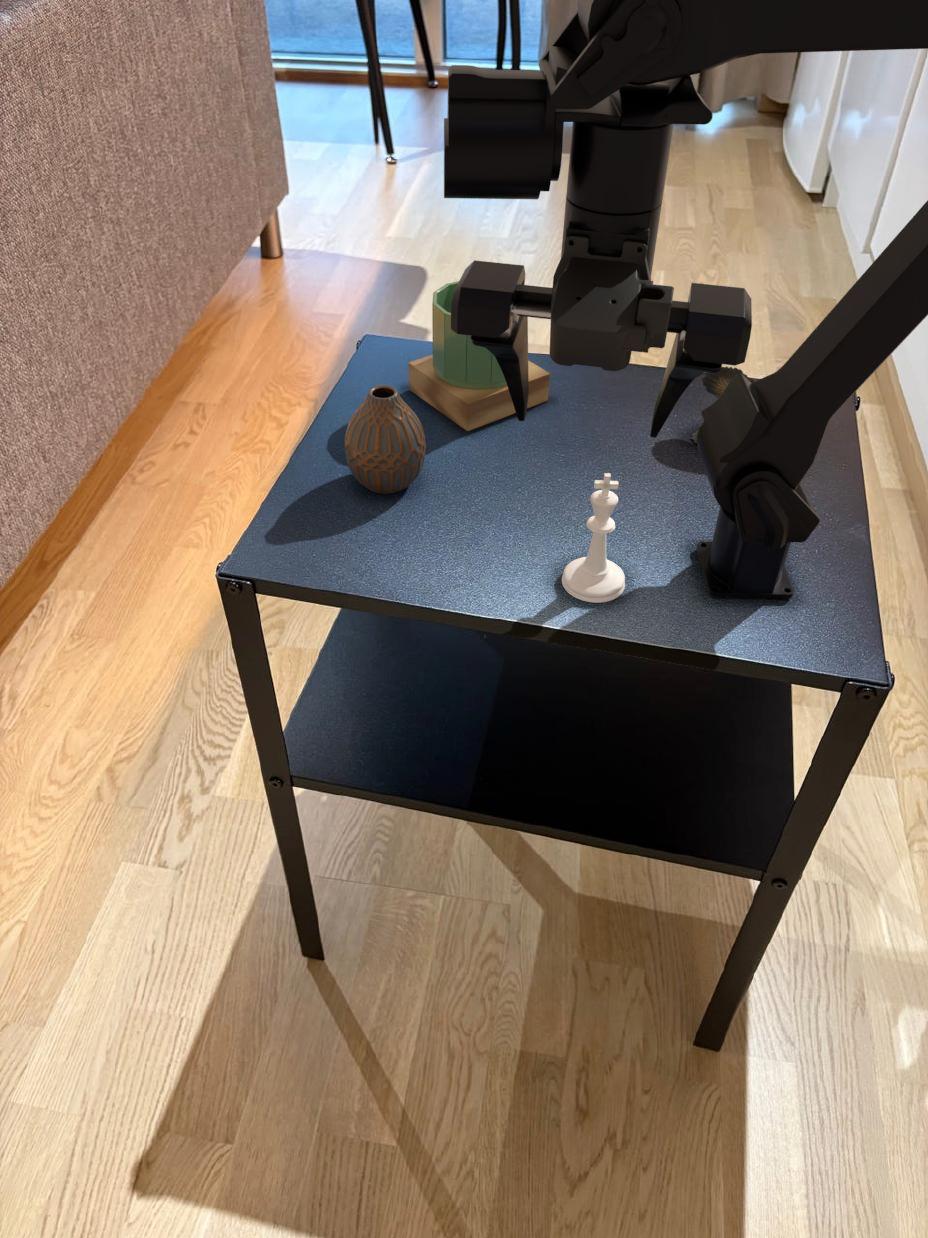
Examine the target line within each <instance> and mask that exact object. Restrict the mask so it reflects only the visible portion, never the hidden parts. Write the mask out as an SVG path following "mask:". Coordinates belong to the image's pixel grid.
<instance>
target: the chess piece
mask: <svg viewBox="0 0 928 1238" xmlns="http://www.w3.org/2000/svg"><path fill="white" fill-rule="evenodd" d="M619 486H620V485H619V480H612V474H611V473H610V472H604V473H603V480H602V479H601V480H600V479H599V480H598V479H594V483H593V488H594V490H596V491H594V492H592V493H591V495H590V503H591V506H592V510H593V515H592V516H590V517H589V518H587V521H586V528H587V529H588V530H589V531H590V532H592V535H591V540H590V544H589V547H588V550H587V553H586V556H582V557H578V558H575V559H573V560H572V561H570V562H569V563H568V564H567V565H566V566H565V567H564V569H563V573H562V576H561V584H562V587H563V588H564V590H565V591H566V592H567V593H568V594H569V595H570V596H572V597H573V598H575V599H577V600H580V601H583V602H586V603H594V604H595V603H596V604H598V603H599V604H601V603H606V602H607V603H608V602H611V601H614V600H615V599H617V598H618V597H621V595H622V594H623V593H624V591H625V589H626V576H625V573H624V571H623V570H622V568H621V567H620V566H619V565H618V564H616V563H615V562H614V561H612V560H610V559H607V556H608V555H607V536H608V535H607V534H610V533H612V532H614V531H615V529H616V523H615V520H614V519H613V518H612V517H611V516H612V514H613V512H614V510H615V508H616V507H617V505H618V503H619V497H618V495H617V494H616V493H615V492H614V491H611V490H619Z"/></svg>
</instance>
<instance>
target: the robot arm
mask: <svg viewBox="0 0 928 1238" xmlns="http://www.w3.org/2000/svg"><path fill="white" fill-rule="evenodd" d="M576 6H577V9H576V11H575V12H574V13H573V15H572V16H571V17H570V19H569V20H568V21H567V23H566V24H565V26H564V27H563V29H562V30H561V31H560V32H559V33H558V35H557V37H556V38H555V39H554V40H553V42H552V43H551V45H550V46H548V48H547V49H546V51H545V52H544V54H543V55H542V56H541V57H540V59H539V60H538V61H539V62H538V67H539V70H528V69H527V70H526V69H525V70H523V69H486V68H481V67H478V66H475V65H469V64H467V65H466V64H465V65H464V64H463V65H462V64H452V65H450V66H449V67H448V69H447V113H446V114H447V116H446V117H444V118H443V199H468V200H469V199H474V200H476V199H479V200H480V199H481V200H485V199H486V200H539V199H540V195H541V192H550V191H551V185H552V184H551V182H557V181H559V179H560V174H561V168H562V159H563V144H564V143H563V142H564V124H565V123H572V124H571V137H570V149H569V161H568V171H567V172H568V173H567V183H566V195H565V205H564V216H563V226H562V227H563V228H562V229H563V230H562V240H561V250H560V251H561V252H560V258H559V262H558V264H557V266H556V268H555V270H554V274H553V276H552V277H553V278H552V287H548V286H540V285H538V286H537V285H529V284H526V267H525V265H524V264H513V263H504V262H494V261H485V260H484V261H483V260H475V259H474V260H473V261H472V262H471V263H470V264H469V265H468V266H466V268H465V269H464V271H463V273H462V275H461V277H460V279H459V280H458V281H459V282H458V284H457V286H456V288H455V290H454V292H453V296H452V302H451V330H452V331H454V332H455V333H457V334H462V335H471V341H472V343H473V344H474V345H476V346H481V347H485V348H486V349H487V350H489V351H490V352H491V353H492V354H493V355H494V356H495V358H496V360H497V362H498V364H499V366H500V368H501V370H502V372H503V375H504V378H505V380H506V383H507V387H508V390H509V393H510V396H511V399H512V402H513V405H514V408H515V411H516V413H515V414H516V417H517V420H518V421H519V422H525V420H526V417H527V411H528V409H527V404H528V394H529V379H528V360H529V325H528V324H529V319H528V318H534V319H542V320H543V319H544V320H550V329H549V357H550V359H551V361H552V362H553V363H555V364H557V365H560V366H564V367H571V366H574V365H579V366H584V367H585V366H586V367H594V368H601V369H602V370H603V371H610V372H619V371H622V370H624V369H625V368H627V366H629V364H630V361H631V358H632V352H636V353H645V354H648V353H649V349H651V348H653V349H654V348H656V349H663V348H665V347H666V341H667V335H668V333H670V334H671V333H672V334H675V337H674V340H673V343H672V347H671V351H670V354H669V357H668V361H667V364H666V367H665V371H664V375H663V378H662V382H661V385H660V389H659V391H658V394H657V398H656V402H655V405H654V409H653V413H652V414H653V415H652V421H651V427H650V432H649V433H650V434H649V437H650V438H653V439H655V438H657V437H658V435H659V433H660V432H661V430H662V428H663V426H664V425H665V423H666V422H667V420H668V418H669V417H670V415H671V413H672V411H673V410H674V408H675V406H676V405H677V403H678V401H679V400H680V398H681V396H682V395H683V394H684V392H685V391H686V390H687V389H688V387H689V386H690V385H691V384H692V382H693V381H694V380H695V379H696V378H698V377H700V376H702V374H705V373H716V372H718V371H720V369H721V367H723V365H725V366H738V365H741V364H744V363H745V362H746V357H747V353H748V349H749V344H750V340H751V333H752V327H753V315H752V314H753V313H752V312H753V309H752V307H753V306H752V303H753V302H752V297H751V296H750V294H749V293H748V292H747V290H746V289H745V287H739V286H738V287H736V286H728V285H719V284H718V285H717V284H709V283H698V282H691V283H690V288H689V293H688V299H687V301H681V300H673V298H674V292H675V291H674V290H675V287H674V286H672V285H663V284H654V280H652V273H653V267H654V260H655V253H656V246H657V241H658V240H657V239H658V233H659V228H660V227H659V225H660V219H661V213H662V206H663V200H664V192H665V186H666V179H667V172H668V165H669V159H670V152H671V146H672V139H673V131H674V126H675V125H702V126H703V125H704V126H705V125H708V124H710V123H711V122H712V120H713V111H712V110H711V109H710V107H709V106H708V104H707V103H706V102H705V100H704V99H703V98H702V96H701V95H700V94H699V93H698V92H697V90H696V88H695V85H694V82H693V77H692V76H695V75H697V74H703V73H705V72H707V71H710V70H712V69H714V68H717V67H719V66H722V65H724V64H727V63H729V62H732V61H734V60H737V59H742V58H745V57H746V58H747V57H751V56H754V55H761V54H789V53H792V54H793V53H822V52H823V53H824V52H827V53H829V52H830V53H831V52H858V51H859V52H861V51H862V52H863V51H890V50H891V51H894V50H895V51H896V50H897V51H899V50H926V49H927V50H928V0H577V4H576ZM927 317H928V199H927V200H926V201H925V202H924V204H922V206H921V207H920V208H919V210H917V212H916V213H915V214H914V215H913V216H912V218H911V219H910V220H909V221H908V222H907V223H906V224H905V225H904V227H902V229H901V230H900V232H898V233H897V234H896V235H895V237H894V238H893V239H892V240H891V242H890V243H889V244H888V245H887V246H886V247H885V248H884V249H883V251H882V252H881V253H880V254H879V255H878V256H877V258H876V259H875V260H874V261H873V262H872V263H871V264H870V265H869V267H868V268H867V269H866V270H865V271H864V272H863V274H862V275H861V276H860V277H859V278H858V279H857V280H856V282H854V284H853V285H852V286H851V287H850V288H849V289H848V290H847V292H846V293H845V294H844V295H843V297H842V298H841V299H840V300H839V301H838V302H837V303H836V304H835V306H833V308H832V309H831V310H830V311H829V312H828V313H827V315H826V316H825V317H824V318H823V319H822V320H821V321H820V322H819V324H818V325H817V326H815V328H814V330H813V331H812V332H811V333H810V334H809V335H808V337H806V338H805V340H803V342H802V343H801V344H800V346H798V348H797V349H795V351H794V352H793V353H792V355H791V356H790V357H789V358H788V360H787V361H786V362H785V363H784V364H783V365H782V366H781V367H779V369H777V370H776V371H775V372H773V373H771V374H769V375H766V376H764V377H762V378H760V379H757V380H754V381H755V382H753V383H751V382H750V381H749V380H748V379H747V378H746V377H745V376H744V375H742V374H741V373H738V374H736V375H735V376H734V377H733V378H732V379H731V380H730V382H729V384H728V385H727V387H726V389H725V390H724V392H723V393H722V395H721V396H720V397H719V398H718V397H717V399H716V400H715V401H714V402H713V403H712V404H710V405H708V406H707V407H706V408H704V409H702V410H701V411H700V413H701V416H702V418H703V422H702V423H701V425H700V427H699V428H698V430H699V431H698V434H697V443H696V444H697V452H698V455H699V458H700V461H701V464H702V466H703V469H704V471H705V474H706V477H707V480H708V482H709V485H710V488H711V491H712V494H713V496H714V498H715V501H716V502H717V504H718V505H719V510H718V515H717V519H716V524H715V528H714V532H713V537H712V541H699V542H697V544H696V553H697V555H698V560H699V563H700V567H701V570H702V575H703V578H704V583H705V586H706V589H707V592H708V595H709V596H710V597H712V598H731V599H732V598H733V599H735V598H736V599H742V598H743V599H787V600H788V599H792V598H793V597H794V593H795V590H794V587H793V584H792V581H791V579H790V577H789V574H788V571H787V568H786V566H785V564H786V560H787V557H788V553H789V550H790V547H791V543H805V542H806V541H807V540H808V538H809V537H810V536H811V535H812V533H813V532H814V531H815V530H816V528H817V527H818V525H819V524H820V523H821V522H820V518H819V515H818V514H817V511H816V509H815V507H814V505H813V503H812V501H811V499H810V497H809V495H808V493H807V491H806V489H805V486H804V484H803V482H802V481H803V480H804V478H805V477H806V476H807V474H808V473H809V471H810V470H811V469H812V467H813V465H814V463H815V461H816V459H817V456H818V453H819V450H820V448H821V444H822V442H823V439H824V436H825V434H826V432H827V428H828V425H829V424H830V421H831V420H832V418H833V417H834V416H835V414H836V413H837V412H838V411H839V410H840V409H841V408H842V407H843V406H844V405H845V404H846V403H847V402H848V400H849V399H850V398H851V397H852V396H854V394H855V393H856V392H857V391H858V389H860V388H861V387H862V386H863V385H864V384H865V382H866V381H868V379H869V378H870V377H871V376H872V375H873V374H874V373H875V372H876V371H877V370H878V369H879V368H880V366H882V364H883V363H884V362H885V361H887V359H889V357H890V356H891V355H892V354H893V353H894V352H895V351H896V350H897V349H898V348H899V347H900V346H901V344H902V343H903V342H904V341H905V340H906V339H907V338H908V337H909V336H910V335H911V334H912V333H913V332H914V330H915V329H916V328H917V327H919V325H920V324H921V323H922V322H923V321H924V320H925V319H926V318H927Z"/></svg>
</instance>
